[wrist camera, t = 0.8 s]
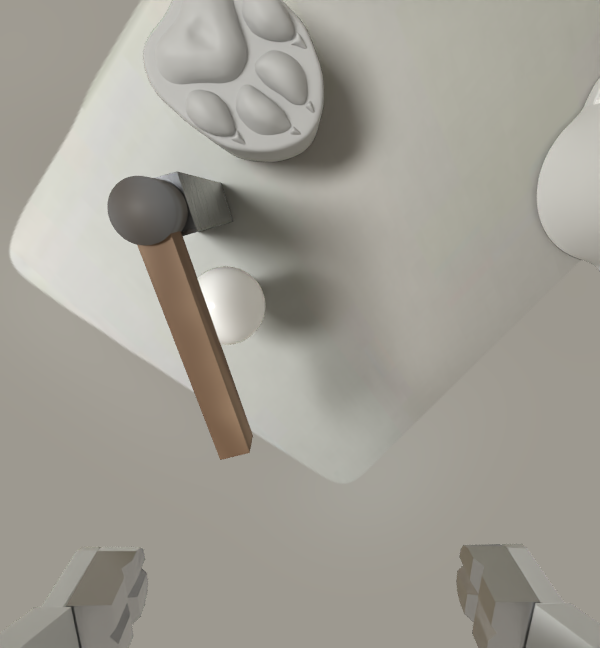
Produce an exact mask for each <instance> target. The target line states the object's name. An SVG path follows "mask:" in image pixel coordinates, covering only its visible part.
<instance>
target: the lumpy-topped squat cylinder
mask: <svg viewBox="0 0 600 648" xmlns="http://www.w3.org/2000/svg"><path fill="white" fill-rule="evenodd" d="M143 61H144V67H145V71H146V74H147V77H148V79H149V82H150V83H151V85H152V87H153V89H154V90H155V92H156V93H157V94H158V96H159V97H160V98H161V99H162V100H163V101H164V102H165V103H166V104H167V105H168V106H169V107H170V108H172V109H173V110H174V111H175V112H176V113H177V114H178V115H179V116H180V117H181V118H183V119H184V120H185V121H186V122H187V123H189V124H190V125H191V126H192V127H194V128H195V129H196V130H198V131H199V132H201V133H202V134H203V135H205V136H206V137H208V138H209V139H210V140H212V141H213V142H214V143H216V144H217V145H219V146H220V147H222V148H223V149H225V150H226V151H228V152H229V153H231V154H233V155H234V156H236V157H239V158H242V159H246V160H252V161H261V162H277V161H282V160H286V159H289V158H292V157H294V156H297V155H299V154H300V153H302V152H303V151H305V150H306V149H307V148H308V147H309V146H310V144H311V143H312V142H313V140H314V138H315V136H316V133H317V130H318V126H319V123H320V119H321V115H322V110H323V103H324V83H323V74H322V70H321V66H320V63H319V59H318V56H317V53H316V51H315V48H314V45H313V43H312V40H311V38H310V36H309V33H308V31H307V29H306V27H305V26H304V24H303V23H302V21H301V20H300V19H299V18H298V17H297V16H296V15H295V14H294V12H293V11H292V10H291V9H290V8H289V7H288V6H287V5H286V4H285V3H284V2H283V1H282V0H172V1H171V4H170V6H169V8H168V10H167V12H166V14H165V15H164V17H163V18H162V20H161V21H160V22H159V23H158V24H157V26H156V27H155V28H154V29H153V31H152V32H151V34H150V35H149V37H148V39H147V41H146V43H145V46H144V50H143Z"/></svg>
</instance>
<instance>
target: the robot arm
mask: <svg viewBox="0 0 600 648" xmlns="http://www.w3.org/2000/svg"><path fill="white" fill-rule="evenodd" d="M537 207H538V213H539V217H540V220H541V223H542V226H543V228H544V230H545V232H546V233H547V235H548V236H549V238H550V239H551V240H552V242H553V243H554V244H555V245H556V246H557V247H559V248H560V249H561V250H562V251H564V252H565V253H567V254H569V255H571V256H573V257H576V258H579V259H581V260H585V261H588V262H590V263H591V264H593V265H594V266H595V267H596V268H597V269H598V270H599V271H600V78H599V79H598V81H597V82H596V83H595V85H594V87H593V89H592V91H591V92H590V95H589V97H588V99H587V101H586V103H585V105H584V108H583V109H582V111H581V112H580V113H579V115H578V116H577V117H576V118H575V119H574V120H573V121H572V122H571V123H570V124H569V125H568V126H567V127H566V128H565V129H564V131H563V132H562V133H561V134H560V135H559V137H558V138H557V139H556V141H555V142H554V144H553V145H552V147H551V149H550V150H549V152H548V154H547V156H546V158H545V161H544V163H543V166H542V169H541V172H540V175H539V180H538V186H537ZM460 559H461V561H462V564H463V566H462V567H461V568H460V569H459V570H458V571H457V580H456V582H457V592H458V597H459V601H460V604H461V606H462V609H463V612H464V614H465V615H466V616H467V617H468V618H469V619H470V620H471V621H473V622H474V624H473V630H472V634H473V636H474V638H475V641H476V643H477V646H478V648H600V623H599V622H597V621H596V620H594V619H593V618H591V617H590V616H589V615H587V614H586V613H584V612H583V611H581V610H580V609H579V608H577V607H576V606H574V605H573V604H572V603H564V601H563V600H562V598H561V597H560V595H559V594H558V592H557V591H556V590H555V588H554V587H553V585H552V584H551V582H550V581H549V579H548V578H547V576H546V575H545V574H544V572H543V571H542V569H541V568H540V566H539V565H538V563H537V562H536V560H535V559H534V557H533V556H532V554H531V553H530V552H529V550H528V549H527V547H525V546H524V545H523V544H502V545H500V544H494V545H493V544H492V545H463V546H462V548H461V551H460ZM144 560H145V556H144V550H143V549H142V548H140V547H81V548H80V549H79V550H78V551H76V552H75V554H74V556H73V557H72V559H71V560H70V562H69V563H68V565H67V567H66V568H65V570H64V571H63V573H62V575H61V576H60V578H59V579H58V581H57V582H56V584H55V586H54V587H53V589H52V590H51V592H50V594H49V595H48V597H47V598H46V600H45V602H44V603H43V604H42V606H41V607H35V608H33V609H32V610H30V611H29V612H27V613H26V614H25V615H23V616H22V617H21V618H19V619H18V620H16V621H15V622H14V623H12V624H11V625H10V626H8V627H7V628H6V629H4V630H3V631H2V632H0V648H129V646H130V643H131V641H132V638H133V630H132V624H133V623H134V622H136V621H137V620H138V619H139V618H140V617H141V614H142V611H143V608H144V606H145V601H146V596H147V591H148V578H147V573H146V572H145V571H144V570H143V569H142V565H143V563H144Z"/></svg>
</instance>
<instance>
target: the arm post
mask: <svg viewBox="0 0 600 648" xmlns="http://www.w3.org/2000/svg"><path fill="white" fill-rule="evenodd" d="M156 179H161V180H164V181H167V182H169V183H171V184H172V185H174V186H175V187H176V188H177V189H178V190H179V191H180V192H181V194H182V195H183V197H184V199H185V201H186V204H187V209H188V216H187V222H186V224H185V227H184V228H183V230H182V231H181V234H182V236H184V235H188V234H191V233H195V232H198V231H202V230H205V229H209V228H212V227H216V226H219V225H223V224H226V223H230V222H233V219H232V216H231V213H230V210H229V207H228V203H227V200H226V197H225V194H224V191H223V187H222V184H221V183H219V182H215V181H211V180H208V179H204V178H200V177H196V176H192V175H188V174H184V173H180V172H174V173H170V174H167V175H164V176H160V177H157V178H156Z"/></svg>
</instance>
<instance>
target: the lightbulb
mask: <svg viewBox="0 0 600 648" xmlns="http://www.w3.org/2000/svg"><path fill="white" fill-rule="evenodd" d="M197 279H198V282H199V285H200V287H201V290H202V293H203V296H204V299H205V302H206V304H207V307H208V310H209V313H210V316H211V319H212V321H213V324H214V327H215V330H216V333H217V336H218V339H219V341H220V344H221V345H231V344H236V343H239V342H242V341H244V340H246V339H248V338H249V337H250V336H252V335H253V334H254V333H255V332H256V331H257V329H258V328H259V327H260V325H261V323H262V321H263V318H264V315H265V308H266V304H265V297H264V293H263V291H262V289H261V287H260V285H259V284H258V282H257V281H256V280H255V279H254V278H253V277H252V276H251V275H250V274H248V273H247V272H245V271H243V270H241V269H238V268H235V267H228V266H223V267H216V268H213V269H210V270H208V271H206V272H204V273H203V274H201V275H200V276H199V277H198V278H197Z"/></svg>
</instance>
